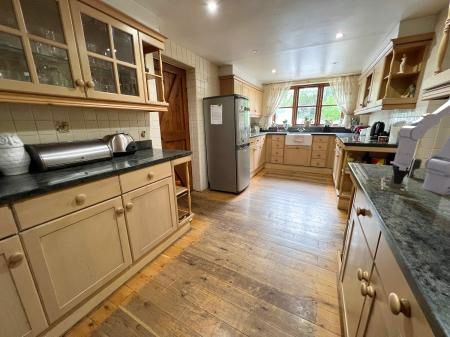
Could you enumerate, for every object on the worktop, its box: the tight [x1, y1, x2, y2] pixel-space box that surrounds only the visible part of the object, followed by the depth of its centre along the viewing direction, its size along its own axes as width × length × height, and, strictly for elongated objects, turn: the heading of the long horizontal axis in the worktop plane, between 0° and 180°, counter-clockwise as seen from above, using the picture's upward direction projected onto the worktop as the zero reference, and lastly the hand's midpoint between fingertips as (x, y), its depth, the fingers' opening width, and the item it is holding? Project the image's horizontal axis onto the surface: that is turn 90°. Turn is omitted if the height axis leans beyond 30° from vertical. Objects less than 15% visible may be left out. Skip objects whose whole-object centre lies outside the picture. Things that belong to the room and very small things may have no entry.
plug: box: [388, 173, 403, 189], centre depth 87 cm, size 4×4×6 cm
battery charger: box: [406, 157, 423, 179], centre depth 106 cm, size 7×4×11 cm, turn 129°
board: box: [380, 176, 410, 196], centre depth 92 cm, size 21×10×2 cm, turn 141°
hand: (396, 182), depth 87 cm, fingers closed on plug, 4 cm apart
